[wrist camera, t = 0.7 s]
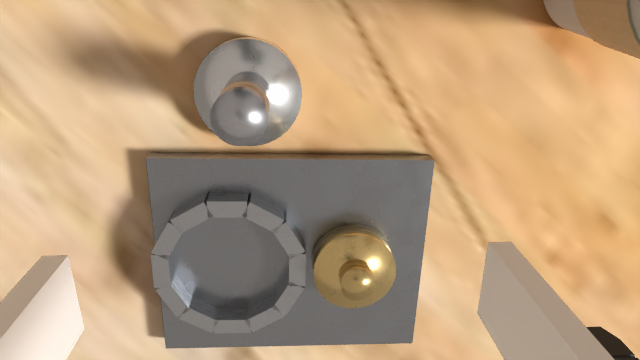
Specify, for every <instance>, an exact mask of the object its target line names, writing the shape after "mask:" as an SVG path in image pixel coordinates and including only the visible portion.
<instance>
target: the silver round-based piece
mask: <svg viewBox="0 0 640 360" xmlns="http://www.w3.org/2000/svg"><path fill="white" fill-rule="evenodd" d="M301 98H302V91H301V83H300V78H299V75H298V72H297V69H296V67H295V65H294V64H293V62H292V60H291V59H290V58H289V57H288V55H287V54H286V53H285V52H284V51H283V50H282V49H280V48H279V47H277V46H276V45H274V44H273V43H271V42H269V41H266V40H263V39H260V38H255V37H240V38H234V39H231V40H228V41H226V42H224V43H222V44H220V45H219V46H218V47H216V48H215V49H213V50H212V51H211V52H210V53H209V54H208V55H207V56H206V57H205V58H204V60H203V61H202V63H201V64H200V66H199V68H198V70H197V73H196V76H195V80H194V101H195V105H196V108H197V110H198V113H199V115H200V117H201V118H202V120H203V122H204V123H205V124H206V126H207V127H208V128H209V129H210V130H211V131H212V132H214V133H215V134H216V135H217V136H218V137H219V138H220V139H221V140H223V141H224V142H226V143H228V144H231V145H235V146H257V145H262V144H266V143H269V142H271V141H273V140H275V139H277V138H278V137H280V136H281V135H283V134H284V133H285V132H286V131H287V130H288V129H289V128H290V127H291V125H292V124H293V122H294V121H295V119H296V117H297V115H298V112H299V110H300V105H301Z"/></svg>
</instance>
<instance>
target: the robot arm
mask: <svg viewBox="0 0 640 360" xmlns="http://www.w3.org/2000/svg"><path fill="white" fill-rule="evenodd" d="M477 313H478V315H479V317H480V319H481V320H482V322H483V324H484V325H485V327H486V329H487V331H488V332H489V334H490V336H491V337H492V339H493V341H494V343H495V344H496V346H497V348H498V349H499V351H500V353H501V355H502V356H503V358H504V360H639V359H638V358H635V356H634V354H633V353H632V352H631V351H630V350H629V348H628V347H627V346H626V345H625V344H624V343H623V342H622V341H621V340H620V339H618V338H617V337H615V336H614V335H612V334H611V333H609V332H608V331H606V330H605V329H603V328H601V327H585V325H584V324H583V323H582V322H581V321H580V320H579V319H578V317H577V316H576V315H575V314H574V313H573V312H572V311H571V309H570V308H569V307H568V306H567V305H566V304H565V303H564V301H563V300H562V299H561V298H560V297H559V296H558V295H557V293H556V292H555V291H554V290H553V289H552V288H551V287H550V285H549V284H548V283H547V282H546V281H545V280H544V279H543V278H542V276H541V275H540V274H539V273H538V272H537V271H536V270H535V268H534V267H533V266H532V265H531V264H530V263H529V262H528V260H527V259H526V258H525V257H524V256H523V255H522V254H521V252H520V251H519V250H518V249H517V248H516V247H515V246H514V244H513V243H512V242H489V243H488V246H487V253H486V259H485V266H484V273H483V279H482V286H481V293H480V299H479V306H478V312H477ZM83 330H84V325H83V321H82V316H81V312H80V307H79V302H78V298H77V293H76V289H75V284H74V280H73V275H72V271H71V266H70V262H69V257H68V255H60V256H42V257H41V258H40V259H39V260H38V261H37V262H36V263H35V265H34V266H33V267H32V268H31V269H30V270H29V271H28V272H27V273H26V274H25V276H24V277H23V278H22V279H21V280H20V281H19V282H18V283H17V284H16V286H15V287H14V288H13V289H12V290H11V291H10V292H9V293H8V294H7V296H6V297H5V298H4V299H3V300H2V301H1V302H0V360H66V359H67V357H68V355H69V354H70V352H71V350H72V349H73V347H74V345H75V344H76V342H77V340H78V338H79V337H80V335H81V333H82V332H83Z"/></svg>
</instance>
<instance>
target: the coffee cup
mask: <svg viewBox="0 0 640 360" xmlns="http://www.w3.org/2000/svg"><path fill="white" fill-rule="evenodd" d="M543 2H544V6H545V8H546V11H547V13H548V14H549V16H550V17H551V19H552V20H553V21H554V22H555V23H556V24H557V25H558V26H560V27H562V28H564V29H566V30H569V31H571V32H574V33H577V34H580V35H583V36H585V37H588V38H591V39H593V40H594V41H595V42H597V43H599V44H601V45H603V46H606V47H608V48H611V49H614V50H617V51H620V52H622V53H625V54H628V55H631V56H634V57H637V58H639V59H640V0H543Z"/></svg>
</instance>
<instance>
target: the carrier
mask: <svg viewBox="0 0 640 360" xmlns="http://www.w3.org/2000/svg"><path fill="white" fill-rule="evenodd" d="M146 163H147V173H148V182H149V192H150V201H151V211H152V220H153V230H154V239H155V246H154V248H153V250H152V252H151V255H150V256H151V265H152V274H153V283H154V288H156V290H155V291H156V292H157V293H158V295H159V296H160V297H161V306H162V316H163V325H164V335H165V344H166V348H206V347H253V346H300V345H346V344H393V343H412V341H413V332H414V324H415V316H416V308H417V300H418V291H419V283H420V275H421V267H422V259H423V250H424V242H425V234H426V226H427V217H428V209H429V201H430V193H431V185H432V176H433V168H434V159H433V158H432V157H431V156H430V155H371V154H243V153H150V154H149V155H148V156H147V158H146Z"/></svg>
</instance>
